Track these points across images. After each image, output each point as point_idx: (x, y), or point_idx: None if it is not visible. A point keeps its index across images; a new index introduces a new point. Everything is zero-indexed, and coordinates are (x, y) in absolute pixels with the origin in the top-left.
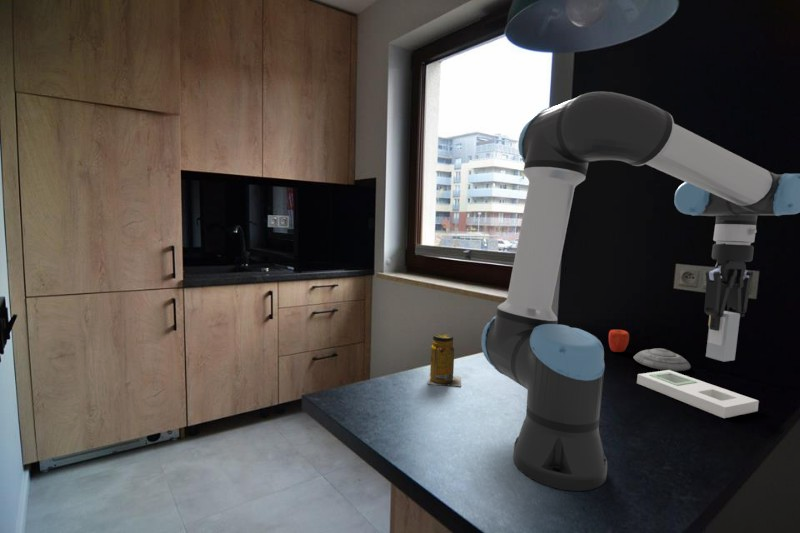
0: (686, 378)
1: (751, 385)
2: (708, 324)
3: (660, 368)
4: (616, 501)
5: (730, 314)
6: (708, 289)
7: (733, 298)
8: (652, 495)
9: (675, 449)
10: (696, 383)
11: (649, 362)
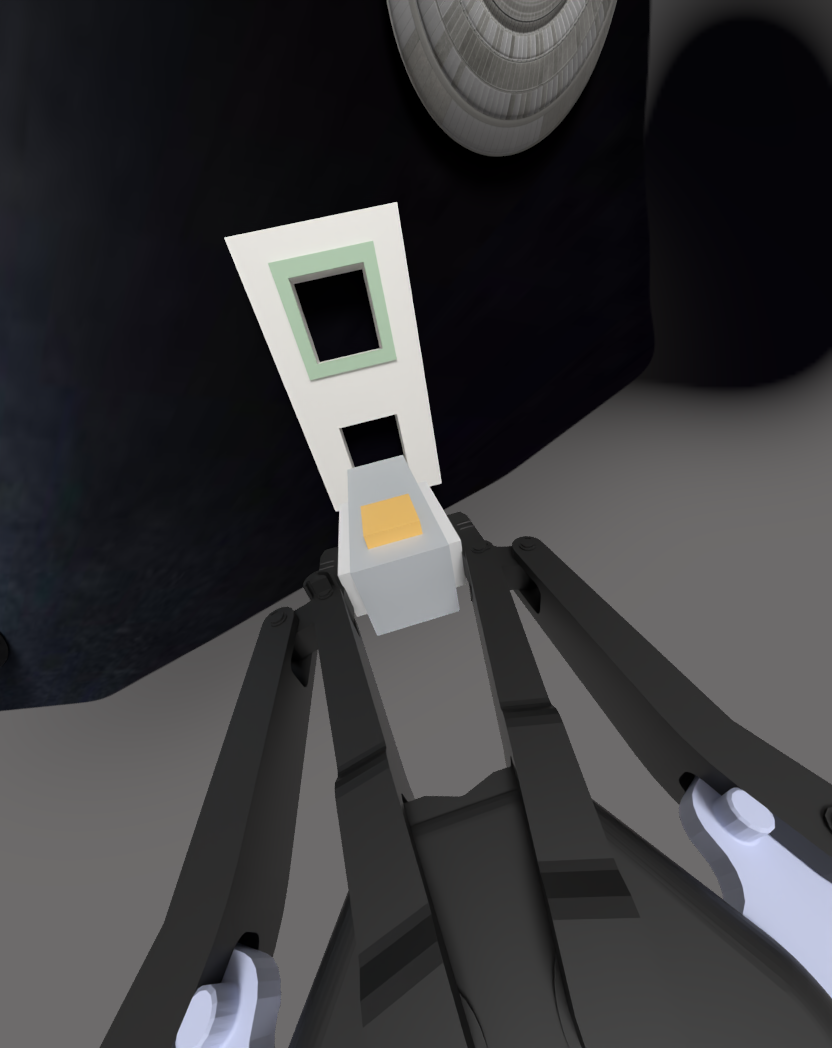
0: (385, 325)
1: (589, 328)
2: (361, 509)
3: (421, 101)
4: (19, 684)
5: (388, 631)
6: (222, 796)
7: (484, 649)
8: (75, 673)
9: (162, 593)
10: (386, 367)
11: (401, 8)
